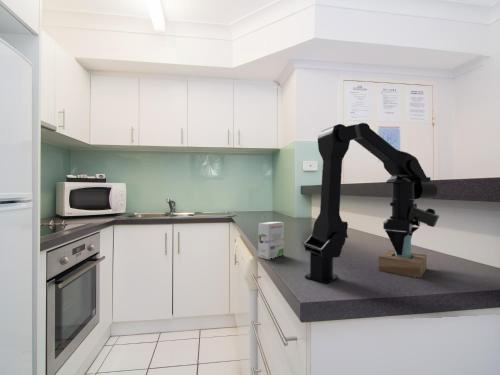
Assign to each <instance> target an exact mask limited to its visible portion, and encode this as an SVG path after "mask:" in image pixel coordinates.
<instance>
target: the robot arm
mask: <svg viewBox="0 0 500 375" xmlns="http://www.w3.org/2000/svg"><path fill="white" fill-rule="evenodd" d="M351 141H355V143H357V144H359V145H360V146H361V147H363V148H364V149H366V151H368V153H370V154H371V155H373V156H374V157H376V158H377V159H378V160H379V161H381V163H382V164H383V168H384V169H385V171H387V173H388V174H389V175H390V177H389V178H388V179H387V180H386V184H388V185H389V184H391V202H390V203H389V205H390V207H391V216H389V218H387V219H386V220H384V221H383V223H382V224H383V225H382V226H383V230H384V232H385V233H386V234H387V236H388V239H389V240H390V242H391V244H392V246H393V249H394V251H396V253H397V255H402V252H403V247H404V242H405V237H406V236H407V235H410V236H411V239H412V237H413V234H414V232H416V231H417V230H418V229H420V226H421V223H423V224H425V225H426V226H429V227H431V228H432V227H433V228H435V226H436V225H437V222H438V220H439V218H440V215H439V214H436V210H435V209H434V208H430V207H429V208H427V209H426V210H424V209H421V208H418V204H417V203H416V202H415V200H433V199H434V198H435V197H436V196H437V194H438V188H437V185H436V184H435V183H434V182H433V181H431V176H430V177H427V175H426V173H425V171H424V169H423V167H422V166H421V164H420V162H419V159H418V158H417V157H416V156H414V155H412V154H410V153H409V152H406V151H402V150H399V149H397V148H395V147H394V146H392V144H390V143H389V142H388V141H387V140H385V139H384V138H383V137H381V135H380V134H378V133H377V132H375V131H374V130H373V129H372V128H371V127H370V125H369V124H368V123H366V122H360V123H358V124H351V125H347V126H346V125H344V124H342V123H340V124H339V123H338V124H335V125H333V126H331V127H328V128H325V129H323V130H321V131H320V132H319V133H318V135H317V148H318V149H317V150H318V152H319V155H320V157H321V158H322V159H321V160H322V171H321V173H322V174H321V188H320V190H321V192H320V209H319V214H318V216H317V218H316V220H315V221H314V224H313V228H312V233H311V235H309V237H308V238H307V239H306V240H305V241H304V242H303V246H304V250H305V252H309V253H310V256H309V258H310V261H309V271H310V272H309V273H307V274H305V275H304V278H306V279H309V280H313V281H317V282H320V283H321V282H322V283H324V284H329V283H331V282H333V281H335V280H337V279H338V278H339V275H337V274H334V258H340V256H341V254H342V250H343V247H344V246H345V243H346V239H348V238H349V237H348V226H349V224H348V222H347V221H344V220H342V217H341V215H340V214H341V213H340V211H341V210H340V208H341V194H342V193H341V191H342V172H343V159H344V157H345V156H346V154H347V152H348V151H349V149H350V148H349V146H350V142H351Z"/></svg>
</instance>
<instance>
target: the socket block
mask: <svg viewBox="0 0 500 375" xmlns="http://www.w3.org/2000/svg"><path fill="white" fill-rule="evenodd" d="M427 261H428V259H427V254H421V253H414V252H413V253H412V252H411V259H409V258H402V257H396V256H395V249H394V250H392V249H388V250H387V251H385V252H383V253H381V254H380V255H379V256H378V271H381V272H384V273H386V272H387V273H391V274H395V275H396V274H397V275H402V276H405V275H406V276H405V277H411V276H413V277H412V278H416V277H421V278H422V277H423V275H424V273H425V272H426V271H427V269H428V268H427V267H428V266H427V265H428V264H427ZM426 268H427V269H426ZM424 271H425V272H424ZM422 274H423V275H422Z"/></svg>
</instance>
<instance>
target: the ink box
mask: <svg viewBox="0 0 500 375" xmlns="http://www.w3.org/2000/svg"><path fill="white" fill-rule="evenodd" d="M257 235H258V236H257V237H258V244H257V245H258V246H257V251H258V252H257V255H258V256H257V258H261V259H265V260H271V258H272V259H276V258H279V256H280V257H283V256H284V254H285V253H284V251H285V246H284V244H285V242H284V241H285V222H283V221H269V222H259V223H258V234H257ZM282 255H283V256H282ZM275 257H276V258H275Z"/></svg>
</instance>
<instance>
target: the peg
mask: <svg viewBox="0 0 500 375" xmlns="http://www.w3.org/2000/svg"><path fill="white" fill-rule="evenodd" d="M394 251H395V250H394ZM411 253H412V238H411V236H410V235H407V236H406V237H405V242H404V247H403V252H402V255H397V253H396V251H395V256H396V257H402V258H409V259H411Z"/></svg>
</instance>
